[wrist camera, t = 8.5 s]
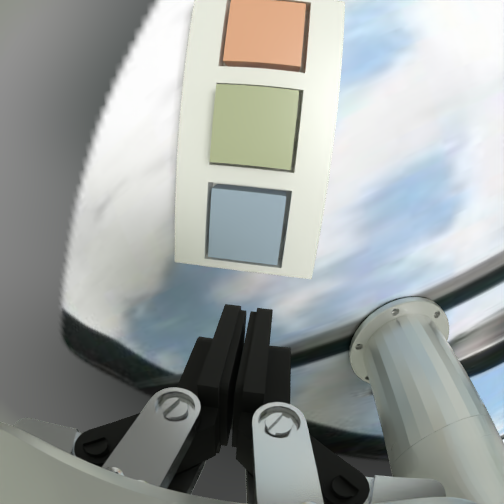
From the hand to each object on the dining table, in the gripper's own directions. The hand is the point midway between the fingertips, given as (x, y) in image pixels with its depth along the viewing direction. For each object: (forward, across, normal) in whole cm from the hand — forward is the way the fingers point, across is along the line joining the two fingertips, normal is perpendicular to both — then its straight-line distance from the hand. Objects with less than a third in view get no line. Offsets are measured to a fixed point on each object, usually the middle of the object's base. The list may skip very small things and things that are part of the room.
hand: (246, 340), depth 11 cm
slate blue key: (+16, +2, 0) cm, 17 cm away
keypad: (+18, +2, -8) cm, 19 cm away
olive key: (+15, +2, -8) cm, 17 cm away
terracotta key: (+16, +1, -16) cm, 23 cm away
